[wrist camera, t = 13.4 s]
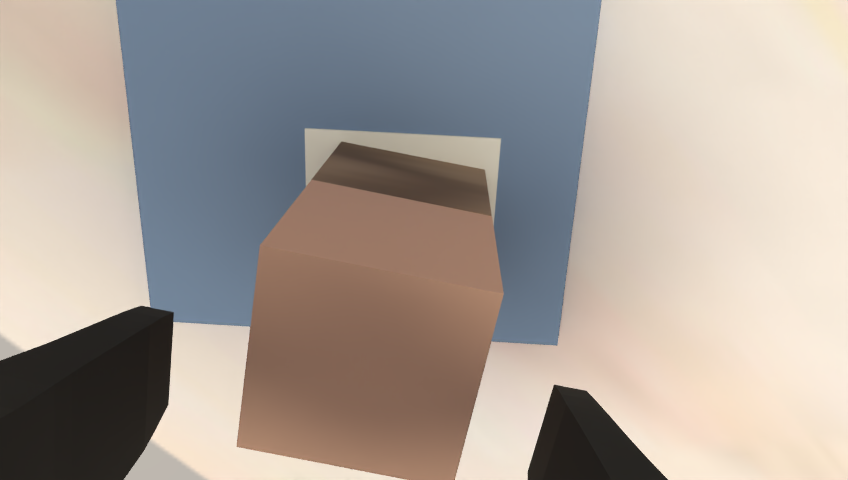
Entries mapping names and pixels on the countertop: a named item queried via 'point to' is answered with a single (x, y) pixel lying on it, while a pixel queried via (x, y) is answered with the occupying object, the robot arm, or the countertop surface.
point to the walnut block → (407, 177)
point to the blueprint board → (351, 128)
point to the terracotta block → (370, 332)
